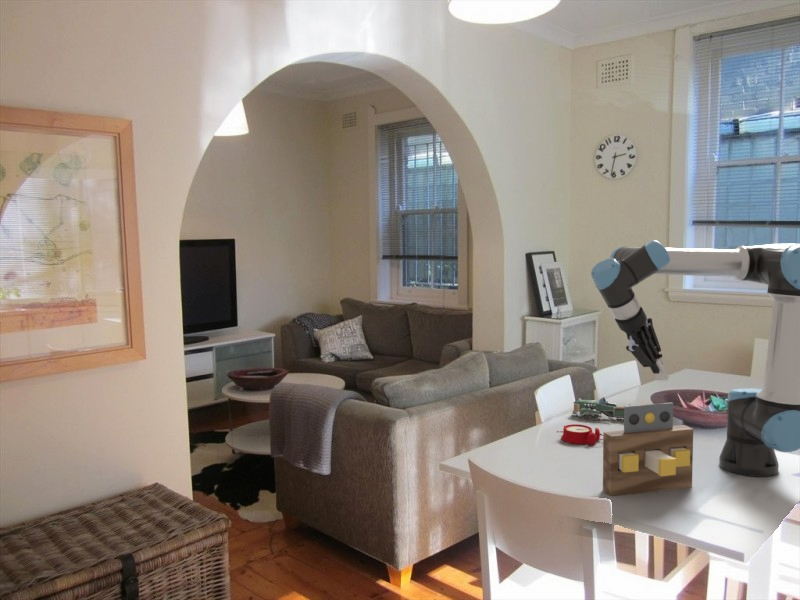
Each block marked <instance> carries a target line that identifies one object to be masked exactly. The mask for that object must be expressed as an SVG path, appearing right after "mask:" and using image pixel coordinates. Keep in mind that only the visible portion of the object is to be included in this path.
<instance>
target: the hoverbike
mask: <svg viewBox="0 0 800 600" xmlns="http://www.w3.org/2000/svg"><path fill="white" fill-rule="evenodd" d="M572 404H573V410H572V412H571V414H572V415H575V416H577V417H578V415H579V416H580V417H581V416H582V415H583V416H582V418H583V419H584V420H586V419H587V418H588V417H592V416H593V419H594V420H598V419H599V417H600V416H599V415H602V414H603V415H604V416H606V417H607V419H611V418H615V419H616V420H617V421H618V420H619V421H624V406H617V403H611V402H609V401H608V400H606V398H605V397H604V396H602V397H600V398H599V399H598V400H594V399H593V400H592V399H591V400H590V399H581V398H579V399H576V400H575V401H573V402H572ZM628 406H631V402H629V405H628Z"/></svg>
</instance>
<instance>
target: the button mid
mask: <svg viewBox="0 0 800 600" xmlns="http://www.w3.org/2000/svg"><path fill="white" fill-rule="evenodd" d="M644 466H645V467H647V468H649V469H650V470H652V471H654V472H655V473H657V474H659V476H669V475H676V458H674V457H671V456H669V455H667V454H665V453H663V452H661V451H659V450H657V449H651V450H644Z"/></svg>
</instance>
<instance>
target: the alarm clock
mask: <svg viewBox="0 0 800 600" xmlns="http://www.w3.org/2000/svg"><path fill="white" fill-rule="evenodd" d="M594 430H595V431H594V432H593V428H592V427H590V426H588V425H584V424H578V423H577V424H567V425H564V426H563V430H562V431H559V430H556V433H562V435H561V440H562V441H563V442H564V443H565V442H566V443H568V444H573V445H574V444H575V445H587V446H594V445H595V444H596V443H597V442H598V441H602V440H603V438H601V436H602V437H603V434H602V433H601V431H600V429H599V428H598V427H595V428H594Z"/></svg>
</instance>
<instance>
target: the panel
mask: <svg viewBox="0 0 800 600" xmlns="http://www.w3.org/2000/svg"><path fill="white" fill-rule="evenodd" d="M602 435H603V436H602V437H603V438H602V439H603V441H602V442H603V444H602V447H603V449H602V491H603V492H604V493H606V494H607V495H608V496H610V497H614V496H625V495H634V494H642V493H650V492H660V490H661V491H668V489H670V490H678V489H679V490H680V489H688V488H693V461H694V459H693V456H694V454H693V453H694V428H692V427H690V426H688V425H685V424H679V425H673V429H664V430H653V431H642V432H631V433H624V429H623V430H621V429H620V430H613V431H611V430H609V431H603V434H602ZM672 447H684V448H686V449H689V450H690V466H682V467H676V475H669V476H659V474H657V473H655V472H654V471H652V470H650V469H649V468H647V467H645V466H644V450H651V449H657V450H659V451H661V452H663V453H665V454H667V455H669V451H670V448H672ZM630 451H631V452H633V453H634V454H637V455H639V466H638V471H634V472H622V471H621V470H620V469H618V453H620V452H630Z"/></svg>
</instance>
